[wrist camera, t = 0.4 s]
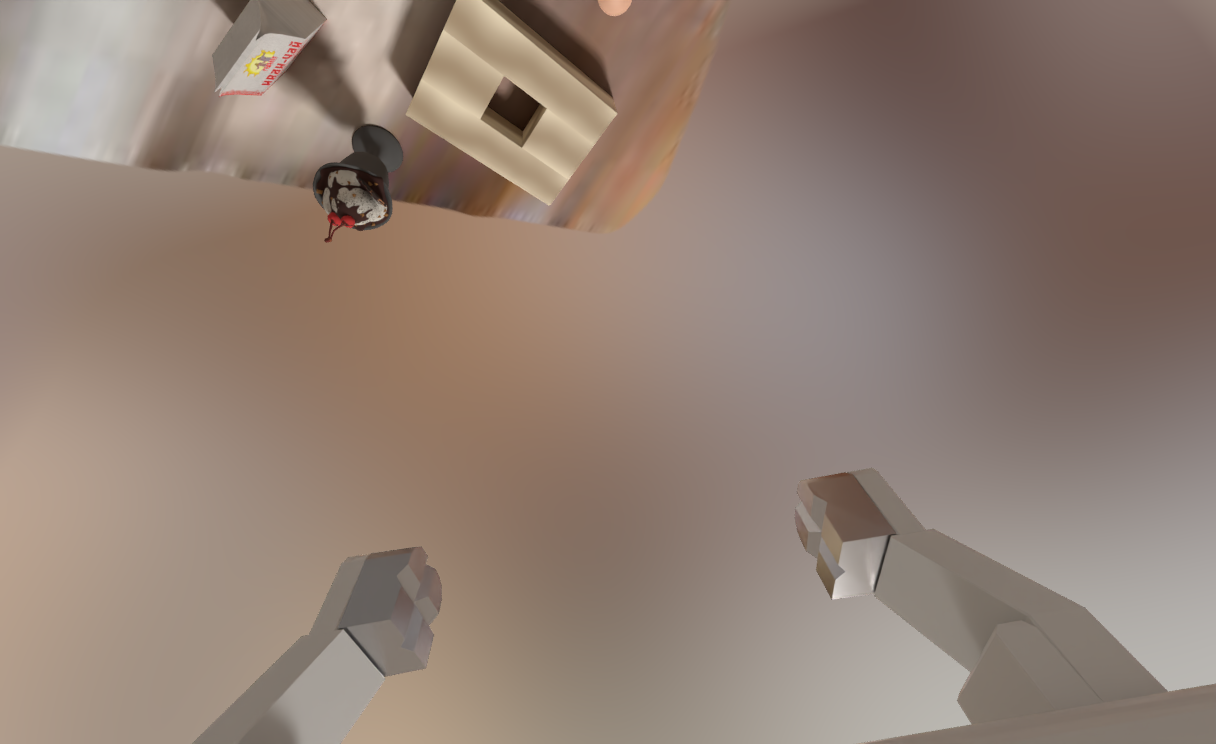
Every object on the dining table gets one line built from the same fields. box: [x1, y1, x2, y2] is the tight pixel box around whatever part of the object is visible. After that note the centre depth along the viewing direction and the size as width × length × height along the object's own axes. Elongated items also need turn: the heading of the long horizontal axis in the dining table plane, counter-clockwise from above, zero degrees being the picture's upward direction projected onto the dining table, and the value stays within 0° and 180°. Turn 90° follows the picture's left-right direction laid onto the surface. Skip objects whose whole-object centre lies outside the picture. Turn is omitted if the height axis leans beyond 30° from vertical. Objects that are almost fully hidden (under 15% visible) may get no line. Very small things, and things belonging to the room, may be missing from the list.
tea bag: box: [212, 0, 327, 97], centre depth 38 cm, size 4×7×10 cm, turn 126°
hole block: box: [406, 0, 617, 206], centre depth 46 cm, size 12×16×4 cm
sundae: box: [313, 126, 403, 242], centre depth 45 cm, size 7×7×15 cm
